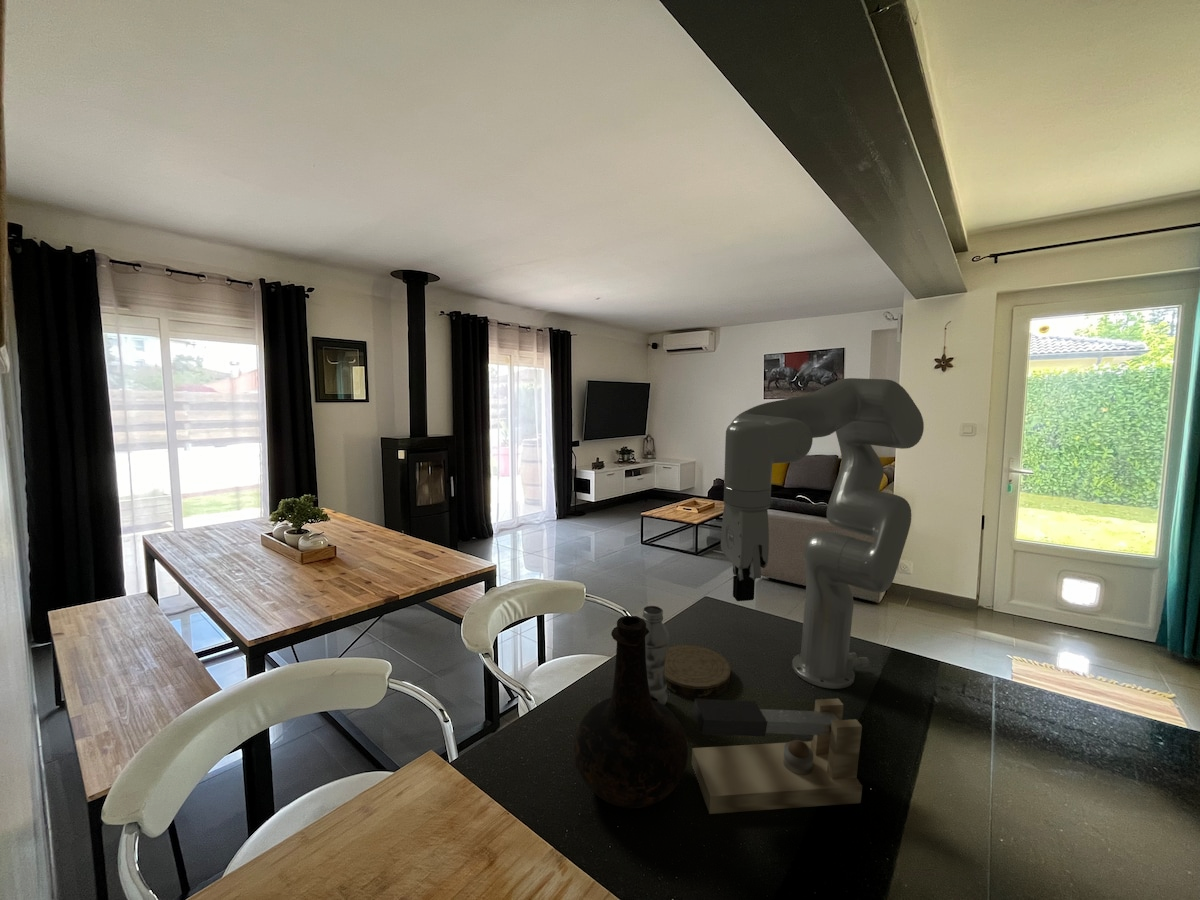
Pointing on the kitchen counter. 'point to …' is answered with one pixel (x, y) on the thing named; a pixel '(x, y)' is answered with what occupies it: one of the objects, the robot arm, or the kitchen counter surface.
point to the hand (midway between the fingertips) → (743, 598)
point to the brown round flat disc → (696, 672)
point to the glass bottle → (631, 732)
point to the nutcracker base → (783, 770)
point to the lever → (758, 719)
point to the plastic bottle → (656, 652)
